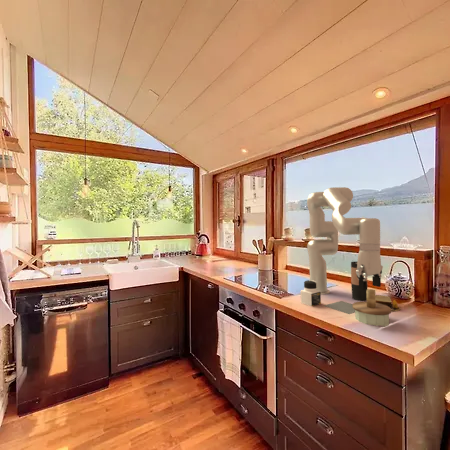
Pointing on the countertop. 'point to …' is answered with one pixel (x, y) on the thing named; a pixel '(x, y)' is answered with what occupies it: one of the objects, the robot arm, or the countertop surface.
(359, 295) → the travel mug
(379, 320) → the bowl
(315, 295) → the medicine bottle
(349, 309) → the mat
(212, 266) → the countertop surface
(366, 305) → the lid
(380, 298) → the toy sandwich meal
